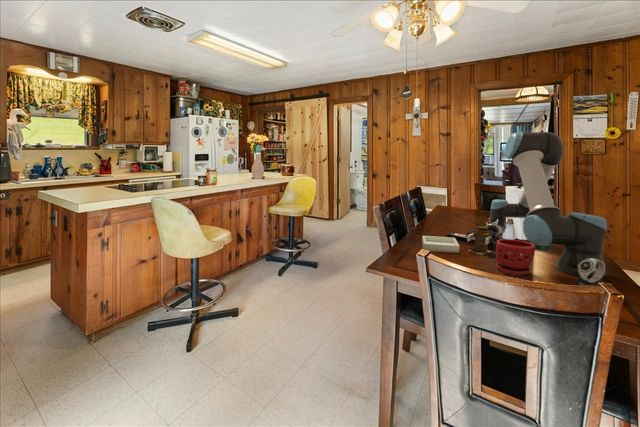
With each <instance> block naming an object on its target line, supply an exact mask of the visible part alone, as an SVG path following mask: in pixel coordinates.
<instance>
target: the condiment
mask: <svg viewBox="0 0 640 427" xmlns="http://www.w3.org/2000/svg"><path fill="white" fill-rule="evenodd" d="M485 226H486V225H479V226H476V232H475V238H474V242H473V243H474V245H473V248H470V249H467V251H468V252H471V253H475V254H478V255H484V254H488V253H491V252H492V251H491V250H489V243H488V244H485V240H486V238H487V237H489V233H488V232H489V228H488V227H485Z"/></svg>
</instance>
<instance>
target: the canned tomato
mask: <svg viewBox="0 0 640 427" xmlns="http://www.w3.org/2000/svg"><path fill="white" fill-rule="evenodd" d="M530 243H531V242H530ZM531 244H533V243H531ZM534 245H535V251H540V252H550V250H551V245H546V246H544V245H536V244H534Z"/></svg>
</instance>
